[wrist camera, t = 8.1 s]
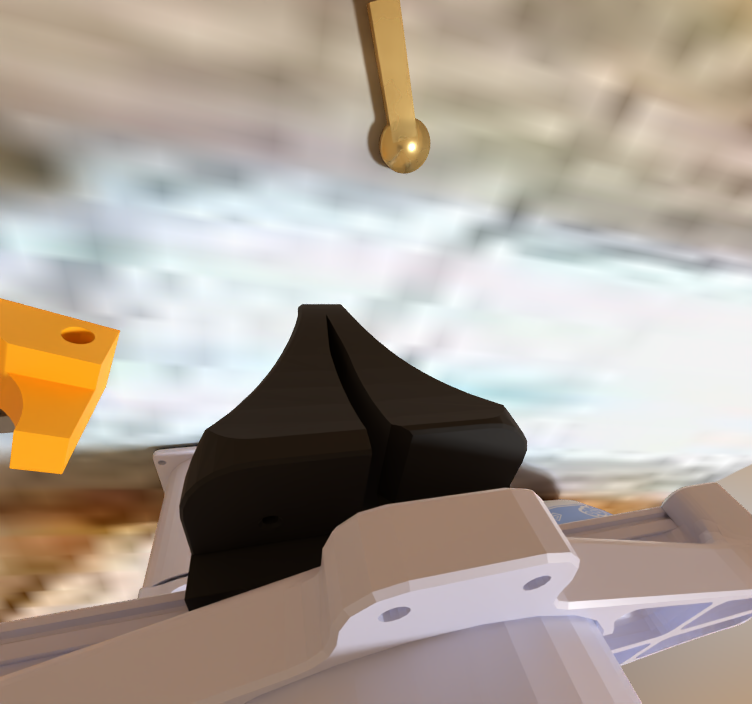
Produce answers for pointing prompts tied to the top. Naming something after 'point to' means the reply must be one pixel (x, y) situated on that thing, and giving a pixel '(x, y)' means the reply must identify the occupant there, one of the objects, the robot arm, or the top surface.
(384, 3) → the brass spoon
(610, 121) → the top surface
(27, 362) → the pipe clamp
